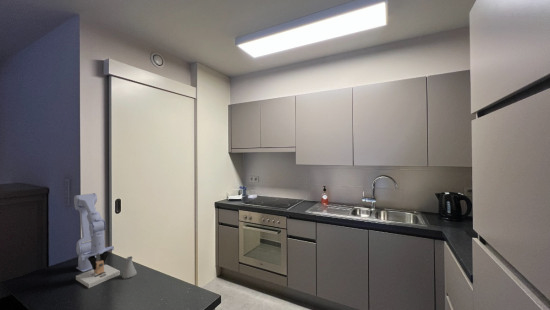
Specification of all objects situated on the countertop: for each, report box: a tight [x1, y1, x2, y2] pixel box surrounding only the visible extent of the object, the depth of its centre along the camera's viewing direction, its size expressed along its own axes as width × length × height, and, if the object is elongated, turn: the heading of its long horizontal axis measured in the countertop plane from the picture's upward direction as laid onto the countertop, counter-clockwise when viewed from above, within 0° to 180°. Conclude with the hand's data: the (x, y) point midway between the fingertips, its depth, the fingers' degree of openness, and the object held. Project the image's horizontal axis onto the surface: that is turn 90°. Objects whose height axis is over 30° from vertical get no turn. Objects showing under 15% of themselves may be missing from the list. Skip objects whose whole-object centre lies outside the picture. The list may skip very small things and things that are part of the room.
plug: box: [94, 258, 105, 275], centre depth 118 cm, size 5×3×6 cm, turn 61°
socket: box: [75, 264, 121, 289], centre depth 119 cm, size 16×14×2 cm
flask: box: [121, 256, 138, 280], centre depth 120 cm, size 7×7×10 cm
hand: (98, 267), depth 119 cm, fingers closed on plug, 3 cm apart
